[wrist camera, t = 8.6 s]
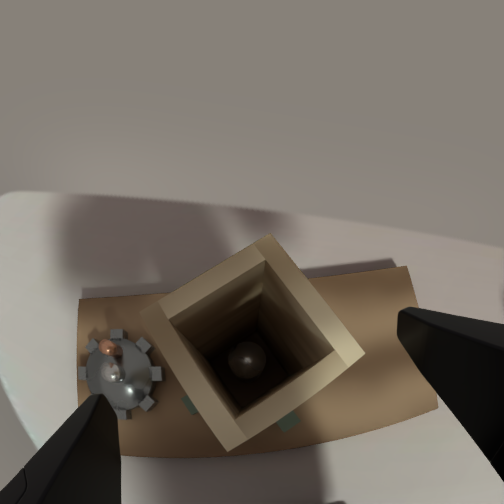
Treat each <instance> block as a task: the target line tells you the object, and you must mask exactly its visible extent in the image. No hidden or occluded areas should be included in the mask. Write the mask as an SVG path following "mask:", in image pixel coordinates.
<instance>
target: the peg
mask: <svg viewBox="0 0 504 504" xmlns="http://www.w3.org/2000/svg"><path fill="white" fill-rule="evenodd" d="M228 362H229V366H230V368H231V370H232V372H233V373H234V375H235V377H236V378H237V379H238V380H240V381H241V382H245V383H250V382H253V381H255V380H256V379H258V378H259V376H260V374H261V373H262V371H263V369H264V367H265V364H266V355H265V353H264V351H263V349H262V348H261V347H260V346H259V345H257V344H256V343H253V342H248V341H247V342H241V343H239V344H237V345H235V346H234V347H233V348H232V350H231V351H230V353H229V357H228Z"/></svg>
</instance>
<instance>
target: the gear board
mask: <svg viewBox="0 0 504 504" xmlns="http://www.w3.org/2000/svg"><path fill="white" fill-rule="evenodd" d="M308 280H309V282H310V283H311V284H312V285H313V287H314V288H315V289H316V290H317V292H318V293H319V294H320V296H321V297H322V298H323V299H324V301H325V302H326V303H327V304H328V306H329V307H330V308H331V309H332V311H333V312H334V313H335V315H336V316H337V317H338V318H339V320H340V321H341V322H342V324H343V325H344V326H345V327H346V329H347V330H348V331H349V333H350V334H351V335H352V336H353V338H354V339H355V340H356V342H357V343H358V344H359V346H360V347H361V348H362V349H363V351H364V352H365V354H364V355H363V356H362V357H361V358H360V359H358V360H357V361H356V362H355V363H354V364H352V365H351V366H350V367H349V368H348V369H346V370H345V371H344V372H343V373H341V374H340V375H339V376H338V377H336V378H335V379H334V380H333V381H331V382H330V383H329V384H328V385H326V386H325V387H324V388H322V389H321V390H320V391H318V392H317V393H316V394H314V395H313V396H312V397H310V398H309V399H308V400H306V401H305V402H304V403H302V404H301V405H299V406H298V407H297V408H295V409H294V410H293V411H294V412H295V414H296V415H297V416H298V418H299V419H300V420H301V421H300V422H299V423H298V424H296V425H295V426H293V427H292V428H290V429H289V430H288V431H286V432H285V433H284V432H283V431H282V430H281V428H280V427H279V426H278V424H277V423H276V422H275V423H273V424H272V425H270V426H269V427H267V428H266V429H264V430H263V431H261V432H259V433H258V434H256V435H255V436H253V437H251V438H250V439H248V440H247V441H245V442H243V443H242V444H240V445H238V446H237V447H235V448H233V449H232V450H230V451H228V452H227V451H226V449H225V448H224V447H223V445H222V444H221V443H220V441H219V440H218V439H217V437H216V436H215V434H214V433H213V432H212V430H211V429H210V427H209V426H208V425H207V423H206V422H205V420H204V419H203V417H202V416H201V414H200V413H199V412H198V413H196V414H194V415H191V413H190V412H189V410H188V409H187V407H186V406H185V404H184V403H183V401H182V400H181V398H182V397H184V396H186V395H187V393H186V392H185V390H184V389H183V387H182V385H181V384H180V382H179V381H178V379H177V377H176V376H175V374H174V373H173V371H172V369H171V368H170V366H169V364H168V363H167V361H166V359H165V358H164V356H163V354H162V352H161V351H160V349H159V347H158V346H157V344H156V342H155V340H154V338H153V337H152V335H151V333H150V331H149V329H148V328H147V326H146V324H145V322H144V320H143V318H142V317H141V315H140V313H139V312H140V311H142V310H143V309H145V308H147V307H148V306H150V305H152V304H153V303H155V302H157V301H158V300H160V299H161V298H163V297H165V296H166V295H168V294H170V293H159V294H147V295H134V296H120V297H105V298H89V299H79V308H78V326H77V392H78V407H79V406H80V405H81V404H82V403H83V402H84V401H85V400H86V399H87V398H88V397H89V396H90V395H91V391H90V389H89V387H88V384H87V381H83V380H78V366H79V367H86V364H87V361H88V358H89V356H90V352H89V351H88V350H87V349H86V348H85V347H86V345H87V344H88V343H89V342H90V341H91V340H92V338H94V339H96V340H98V341H102V340H103V339H107V340H108V339H110V329H123V330H125V331H127V332H128V340H129V341H131V342H133V343H136V342H137V341H138V340H139V339H140V338H141V337H143V338H145V339H146V340H147V341H148V342H149V343H150V344H151V345H153V346H154V347H155V348H156V349H155V350H154V351H153V352H152V353H151V354H150V355H149V356H150V357H151V359H152V360H153V363H154V365H155V367H159V366H161V367H163V368H165V378H166V382H156V386H155V389H154V392H153V394H152V396H153V397H154V398H155V399H156V400H158V401H159V403H158V404H157V405H156V406H155V407H154V408H153V409H152V410H151V411H149V412H146V411H145V410H143V409H142V408H141V407H138V408H136V409H132V410H131V413H132V419H129V420H121V419H118V432H119V445H120V455H123V456H137V457H158V458H200V457H222V456H236V455H247V454H256V453H265V452H273V451H280V450H286V449H293V448H299V447H304V446H310V445H315V444H320V443H325V442H329V441H334V440H338V439H342V438H347V437H351V436H355V435H358V434H362V433H366V432H369V431H373V430H376V429H380V428H383V427H386V426H390V425H393V424H396V423H399V422H402V421H405V420H408V419H411V418H413V417H416V416H419V415H422V414H424V413H427V412H430V411H432V410H435V409H437V408H438V401H437V395H436V391H435V390H434V389H433V388H432V387H431V385H430V384H429V383H428V382H427V380H426V379H425V378H424V377H423V375H422V374H421V373H420V371H419V370H418V368H417V367H416V365H415V364H414V362H413V361H412V359H411V358H410V356H409V355H408V353H407V352H406V350H405V349H404V347H403V346H402V344H401V343H400V341H399V339H398V337H397V317H398V312H399V311H400V310H402V309H404V308H407V307H416V308H419V307H418V303H417V300H416V296H415V292H414V289H413V285H412V282H411V278H410V275H409V272H408V268H407V266H401V267H394V268H387V269H380V270H373V271H365V272H358V273H350V274H342V275H334V276H326V277H318V278H310V279H308ZM247 341H248V342H253V343H256V344H257V345H259V346H260V347H261V348H262V349H263V351H264V353H265V355H266V364H265V367H264V369H263V371H262V373H261V374H260V376H259V378H258V379H256V380H255V381H253V382H250V383H245V382H241V381H240V380H238V379H237V378H236V377H235V375H234V373H233V372H232V370H231V368H230V366H229V362H228V357H229V353H230V351H231V350H232V348H233V347H232V348H231V349H229V350H228V351H226V352H224V353H223V354H221V355H220V356H218V357H217V358H215V359H213V360H212V361H211V362H210V363H211V364H212V366H213V367H214V369H215V370H216V372H217V373H218V375H219V376H220V378H221V379H222V381H223V382H224V384H225V385H226V387H227V388H228V389H229V391H230V392H231V394H232V395H233V397H234V398H235V399H236V401H237V402H238V404H239V405H240V406H241V407H244V406H245V405H247V404H248V403H250V402H251V401H253V400H255V399H256V398H258V397H259V396H261V395H262V394H264V393H265V392H267V391H268V390H270V389H271V388H273V387H274V386H276V385H277V384H278V383H280V382H281V381H283V380H284V379H286V378H287V377H288V374H287V373H286V372H285V370H284V369H283V368H282V366H281V365H280V364H279V362H278V361H277V360H276V358H275V357H274V355H273V354H272V353H271V351H270V350H269V349H268V347H267V346H266V344H265V343H264V342H263V340H262V339H261V337H260V336H259V335H258V333H256V332H255V333H254V334H252V335H251V336H249V337H248V338H246V339H245V340H243V341H242V342H247ZM240 343H241V342H240Z"/></svg>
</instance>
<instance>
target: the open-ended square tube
mask: <svg viewBox="0 0 504 504" xmlns="http://www.w3.org/2000/svg"><path fill="white" fill-rule="evenodd" d="M139 313H140V315H141V317H142V318H143V320H144V322H145V324H146V326H147V328H148V329H149V331H150V333H151V335H152V337H153V338H154V340H155V342H156V344H157V346H158V347H159V349H160V351H161V352H162V354H163V356H164V358H165V359H166V361H167V363H168V364H169V366H170V368H171V369H172V371H173V373H174V374H175V376H176V377H177V379H178V381H179V382H180V384H181V385H182V387H183V389H184V390H185V392H186V393H187V395H186V396H184V397H182V398H181V400H182V401H183V403H184V404H185V406H186V407H187V409H188V410H189V412H190V413H191V415H194V414H196V413H198V412H199V413H200V414H201V416H202V417H203V419H204V420H205V422H206V423H207V425H208V426H209V427H210V429H211V430H212V432H213V433H214V434H215V436H216V437H217V439H218V440H219V441H220V443H221V444H222V445H223V447H224V448H225V449H226V451H227V452H228V451H230V450H232V449H233V448H235V447H237V446H238V445H240V444H242V443H243V442H245V441H247V440H248V439H250V438H251V437H253V436H255V435H256V434H258V433H259V432H261V431H263V430H264V429H266V428H267V427H269V426H270V425H272V424H273V423H275V422H276V423H277V424H278V426H279V427H280V428H281V430H282V431H283V432H284V433H285V432H286V431H288V430H289V429H290V428H292V427H293V426H295V425H296V424H298V423H299V422H300V421H301V420H300V419H299V418H298V416H297V415H296V414H295V412H294V411H293V410H294V409H295V408H297V407H298V406H299V405H301V404H302V403H304V402H305V401H306V400H308V399H309V398H310V397H312V396H313V395H314V394H316V393H317V392H318V391H320V390H321V389H322V388H324V387H325V386H326V385H328V384H329V383H330V382H331V381H333V380H334V379H335V378H336V377H338V376H339V375H340V374H341V373H343V372H344V371H345V370H346V369H348V368H349V367H350V366H351V365H352V364H354V363H355V362H356V361H357V360H358V359H360V358H361V357H362V356H363V355H364V354H365V352H364V351H363V349H362V348H361V347H360V346H359V344H358V343H357V342H356V340H355V339H354V338H353V336H352V335H351V334H350V333H349V331H348V330H347V329H346V327H345V326H344V325H343V324H342V322H341V321H340V320H339V318H338V317H337V316H336V315H335V313H334V312H333V311H332V309H331V308H330V307H329V306H328V304H327V303H326V302H325V301H324V299H323V298H322V297H321V296H320V294H319V293H318V292H317V290H316V289H315V288H314V287H313V285H312V284H311V283H310V282H309V280H308V279H307V278H306V277H305V275H304V274H303V273H302V272H301V270H300V269H299V268H298V267H297V265H296V264H295V263H294V262H293V260H292V259H291V258H290V257H289V255H288V254H287V253H286V252H285V250H284V249H283V248H282V247H281V246H280V244H279V243H278V242H277V241H276V239H275V238H274V237H273V236H272V234H271V233H270V234H268V235H266V236H265V237H263V238H261V239H260V240H258V241H256V242H255V243H253V244H251V245H249V246H248V247H246V248H244V249H243V250H241V251H239V252H238V253H236V254H234V255H233V256H231V257H229V258H228V259H226V260H224V261H223V262H221V263H219V264H218V265H216V266H214V267H213V268H211V269H209V270H208V271H206V272H205V273H203V274H201V275H200V276H198V277H196V278H195V279H193V280H191V281H190V282H188V283H186V284H185V285H183V286H181V287H180V288H178V289H176V290H175V291H173V292H171V293H170V294H168V295H166V296H165V297H163V298H161V299H160V300H158V301H157V302H155V303H153V304H152V305H150V306H148V307H147V308H145V309H143V310H142V311H140V312H139ZM255 332H256V333H258V335H259V336H260V337H261V339H262V340H263V342H264V343H265V344H266V346H267V347H268V349H269V350H270V351H271V353H272V354H273V355H274V357H275V358H276V360H277V361H278V362H279V364H280V365H281V366H282V368H283V369H284V370H285V372H286V373H287V374H288V377H287V378H286V379H284V380H283V381H281V382H280V383H278V384H277V385H276V386H274V387H273V388H271V389H270V390H268V391H267V392H265V393H264V394H262V395H261V396H259V397H258V398H256V399H255V400H253V401H251V402H250V403H248V404H247V405H245V406H244V407H241V406H240V405H239V404H238V402H237V401H236V399H235V398H234V397H233V395H232V394H231V392H230V391H229V389H228V388H227V387H226V385H225V384H224V382H223V381H222V379H221V378H220V376H219V375H218V373H217V372H216V370H215V369H214V367H213V366H212V364H211V363H210V362H211V361H212V360H213V359H215V358H217V357H218V356H220V355H221V354H223V353H224V352H226V351H228V350H229V349H231V348H232V347H234V346H235V345H237V344H239V343H240V342H242V341H243V340H245V339H246V338H248V337H249V336H251V335H252V334H254V333H255Z"/></svg>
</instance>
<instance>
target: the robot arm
mask: <svg viewBox="0 0 504 504" xmlns="http://www.w3.org/2000/svg"><path fill="white" fill-rule="evenodd" d="M397 337H398V339H399V341H400V343H401V344H402V346H403V347H404V349H405V350H406V352H407V353H408V355H409V356H410V358H411V359H412V361H413V362H414V364H415V365H416V367H417V368H418V370H419V371H420V373H421V374H422V375H423V377H424V378H425V379H426V380H427V382H428V383H429V384H430V385H431V387H432V388H433V389H434V390H435V391H436V393H437V394H438V395H439V396H440V398H441V399H442V400H443V401H444V403H445V404H446V405H447V407H448V408H449V409H450V410H451V412H452V413H453V414H454V415H455V417H456V418H457V419H458V421H459V422H460V423H461V424H462V426H463V427H464V428H465V430H466V431H467V432H468V434H469V435H470V436H471V438H472V439H473V440H474V441H475V443H476V444H477V445H478V447H479V448H480V450H481V451H482V452H483V454H484V455H485V456H486V458H487V459H488V460H489V462H490V463H491V465H492V466H493V468H494V469H495V470H496V472H497V473H498V475H499V476H500V477H501V479H502V480H503V482H504V324H499V323H494V322H488V321H483V320H478V319H472V318H467V317H462V316H457V315H451V314H446V313H441V312H436V311H431V310H426V309H421V308H416V307H407V308H404V309H402V310H400V311H399V312H398V317H397ZM0 504H121V456H120V445H119V432H118V418H117V415H116V412H115V411H114V409H113V408H112V406H111V404H110V403H109V401H108V400H107V398H106V396H105V395H104V394H102V393H99V394H92V395H90V396H89V397H88V398H87V399H86V400H85V401H84V402H83V403H82V404H81V405H80V406H79V407H78V408H77V409H76V410H75V411H74V413H73V414H72V415H71V416H70V417H69V418H68V419H67V420H66V421H65V422H64V423H63V424H62V425H61V427H60V428H59V429H58V430H57V431H56V432H55V433H54V434H53V435H52V436H51V437H50V438H49V440H48V441H47V442H46V443H45V444H44V445H43V446H42V447H41V448H40V449H39V451H38V452H37V453H36V454H35V455H34V456H33V457H32V458H31V459H30V460H29V461H28V463H27V464H26V465H25V466H24V468H22V469H21V470H20V471H19V473H18V474H17V475H16V476H15V477H14V478H13V479H12V480H11V481H10V482H9V483H8V484H7V485H6V486H5V487H4V488H3V489H2V490H1V491H0Z"/></svg>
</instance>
